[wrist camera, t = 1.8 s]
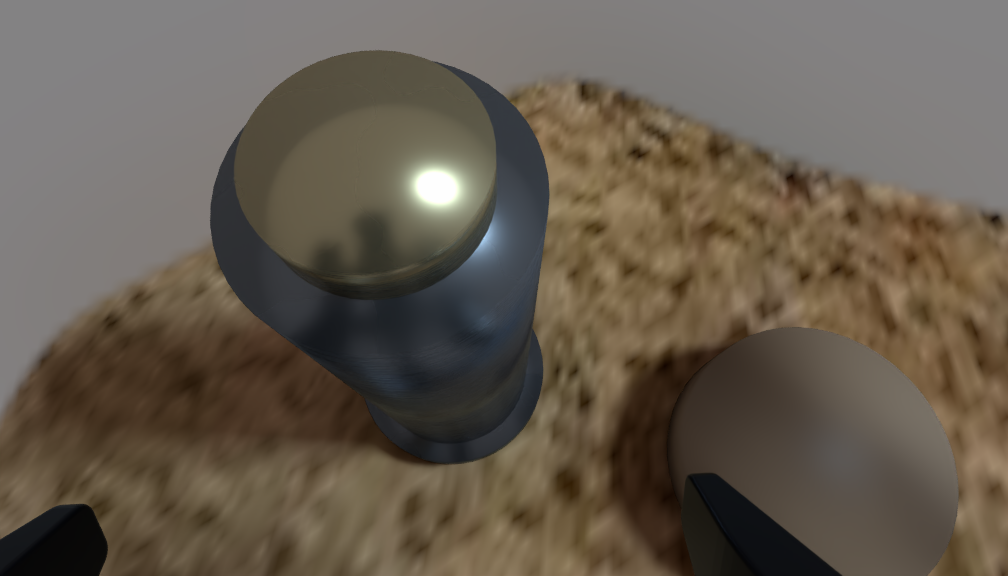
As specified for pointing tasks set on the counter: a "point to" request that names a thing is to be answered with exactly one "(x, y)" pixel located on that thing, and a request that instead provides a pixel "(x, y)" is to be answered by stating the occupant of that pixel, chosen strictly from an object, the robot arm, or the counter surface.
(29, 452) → the counter surface
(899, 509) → the stand
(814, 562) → the robot arm
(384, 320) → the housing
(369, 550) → the counter surface
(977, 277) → the counter surface
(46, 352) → the counter surface
